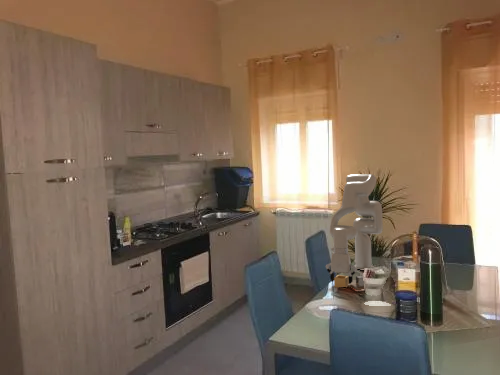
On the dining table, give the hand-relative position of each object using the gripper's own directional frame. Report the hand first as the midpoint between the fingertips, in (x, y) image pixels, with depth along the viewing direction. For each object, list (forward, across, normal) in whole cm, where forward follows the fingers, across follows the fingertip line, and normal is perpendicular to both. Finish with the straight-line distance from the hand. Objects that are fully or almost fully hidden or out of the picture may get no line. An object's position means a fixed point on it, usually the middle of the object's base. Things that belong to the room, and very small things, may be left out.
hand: (341, 282), depth 216 cm
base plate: (+2, +10, -1) cm, 11 cm away
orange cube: (+2, 0, 0) cm, 2 cm away
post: (+1, +10, -1) cm, 10 cm away
